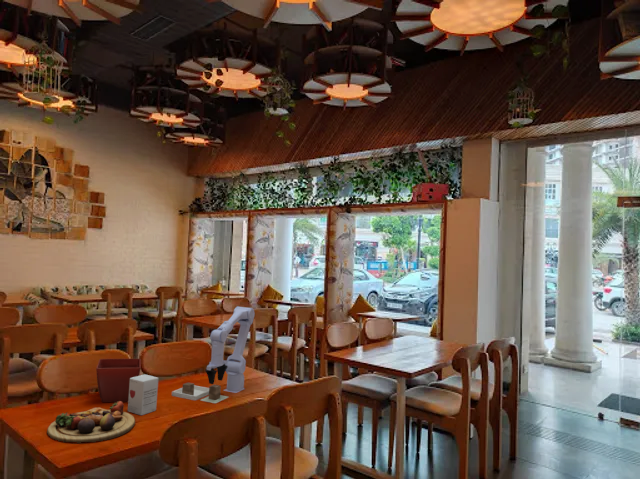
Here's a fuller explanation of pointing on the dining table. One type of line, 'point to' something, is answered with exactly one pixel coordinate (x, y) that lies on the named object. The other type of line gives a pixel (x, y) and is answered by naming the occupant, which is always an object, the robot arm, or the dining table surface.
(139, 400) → the supplement box
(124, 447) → the dining table surface
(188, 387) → the plain block
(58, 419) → the wooden plate with food
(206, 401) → the sage mat
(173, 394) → the parts tray
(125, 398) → the plant pot
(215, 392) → the labelled block
